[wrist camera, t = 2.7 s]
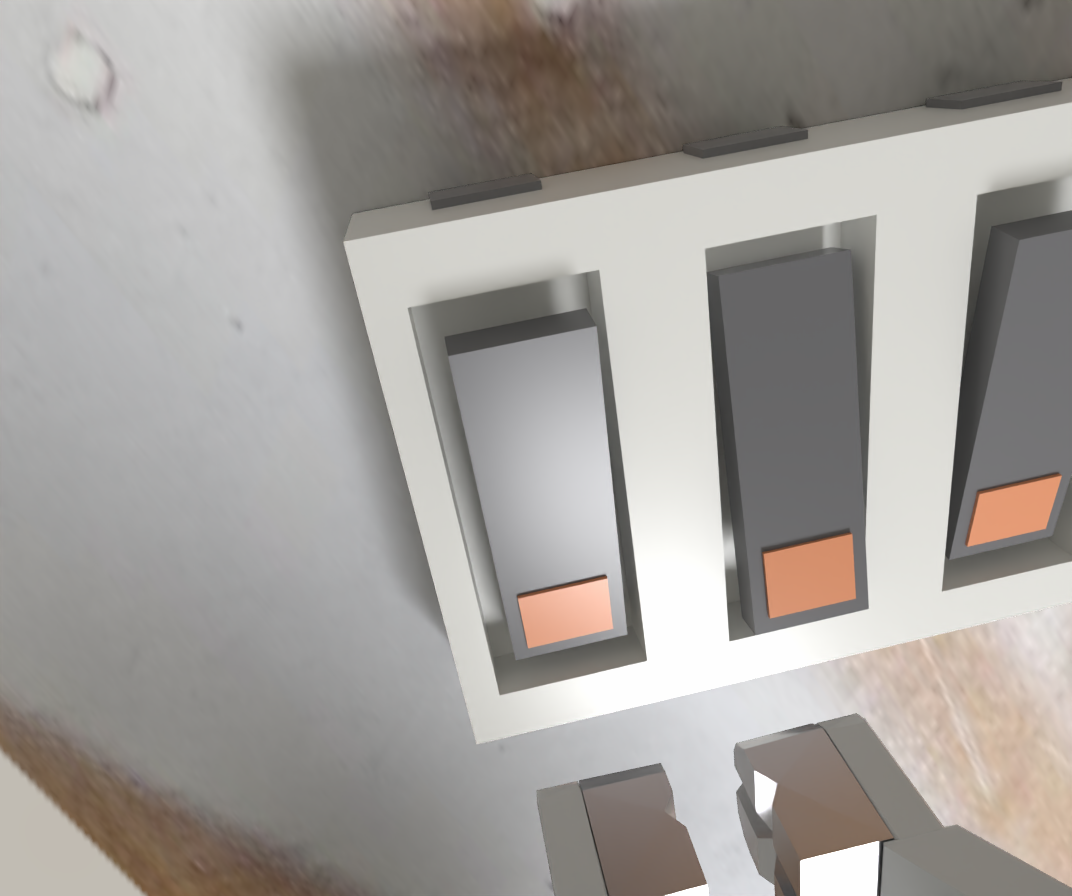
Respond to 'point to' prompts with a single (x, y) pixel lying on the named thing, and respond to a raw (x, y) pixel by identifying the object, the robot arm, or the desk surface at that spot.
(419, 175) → the desk surface
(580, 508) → the rocker
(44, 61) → the desk surface
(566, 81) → the desk surface
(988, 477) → the rocker
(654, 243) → the switch strip
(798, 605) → the middle rocker
